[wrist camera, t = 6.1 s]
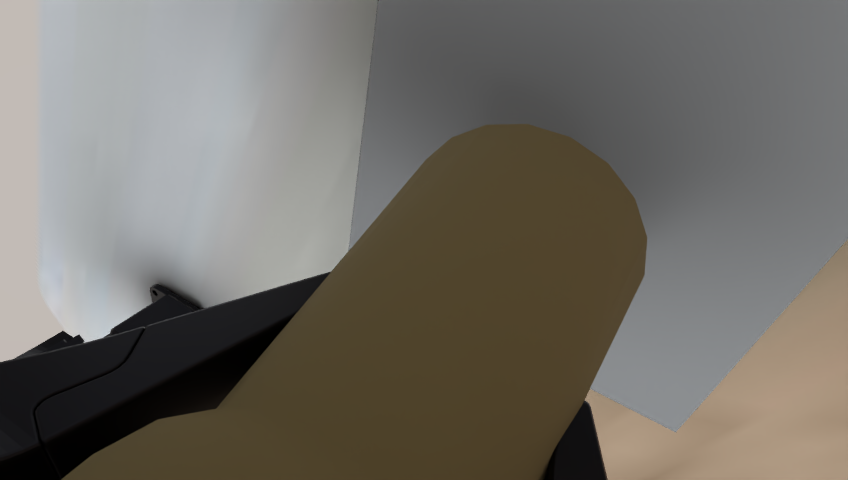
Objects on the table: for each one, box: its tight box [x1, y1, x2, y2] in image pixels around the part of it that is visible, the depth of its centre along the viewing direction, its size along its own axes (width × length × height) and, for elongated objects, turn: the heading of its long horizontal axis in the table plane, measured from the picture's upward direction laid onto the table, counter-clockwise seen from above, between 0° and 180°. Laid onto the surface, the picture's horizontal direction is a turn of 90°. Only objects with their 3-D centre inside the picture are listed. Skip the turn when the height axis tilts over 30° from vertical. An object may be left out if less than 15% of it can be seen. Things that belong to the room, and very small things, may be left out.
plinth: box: [348, 0, 848, 432], centre depth 15 cm, size 14×14×2 cm
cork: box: [61, 124, 647, 480], centre depth 8 cm, size 6×6×11 cm
